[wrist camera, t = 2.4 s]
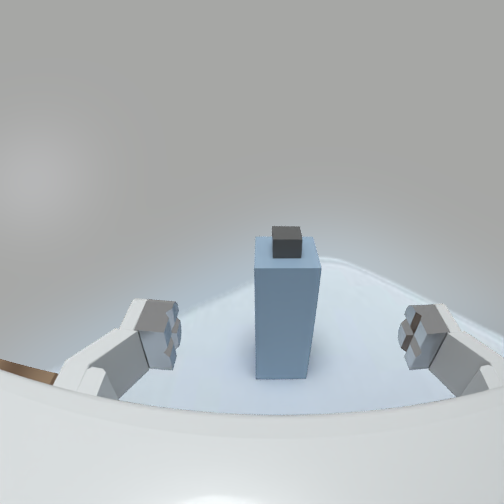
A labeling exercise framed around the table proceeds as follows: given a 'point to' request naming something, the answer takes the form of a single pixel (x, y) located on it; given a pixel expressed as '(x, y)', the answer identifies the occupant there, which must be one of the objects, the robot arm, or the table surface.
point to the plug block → (285, 302)
